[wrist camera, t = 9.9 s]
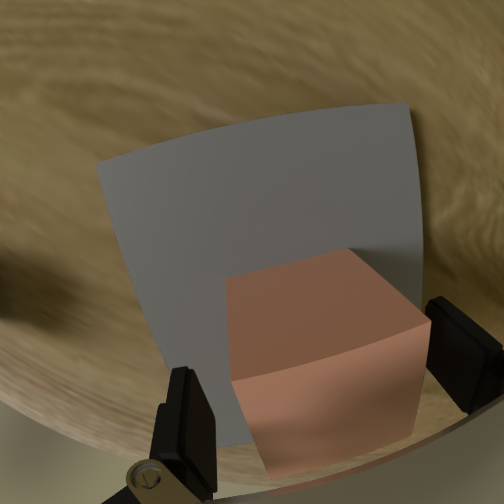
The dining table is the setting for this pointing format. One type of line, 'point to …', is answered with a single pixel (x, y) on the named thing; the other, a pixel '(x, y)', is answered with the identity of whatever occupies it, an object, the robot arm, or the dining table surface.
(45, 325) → the dining table surface
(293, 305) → the salmon pink brick
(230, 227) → the base board
